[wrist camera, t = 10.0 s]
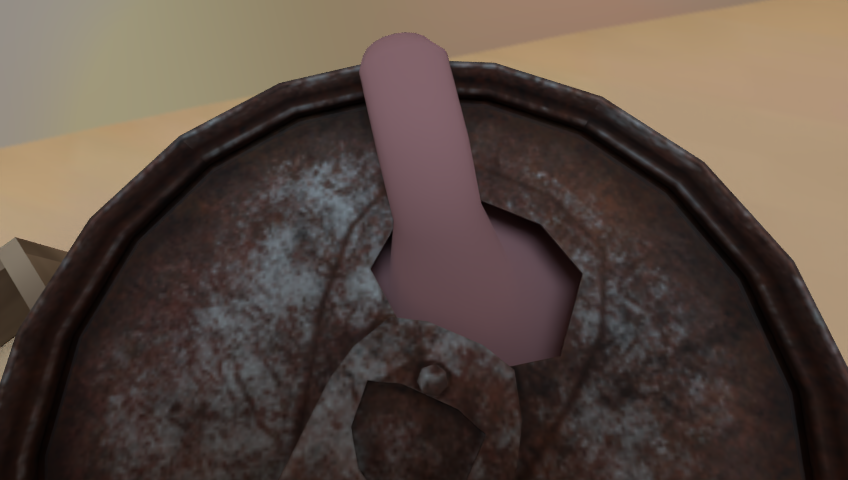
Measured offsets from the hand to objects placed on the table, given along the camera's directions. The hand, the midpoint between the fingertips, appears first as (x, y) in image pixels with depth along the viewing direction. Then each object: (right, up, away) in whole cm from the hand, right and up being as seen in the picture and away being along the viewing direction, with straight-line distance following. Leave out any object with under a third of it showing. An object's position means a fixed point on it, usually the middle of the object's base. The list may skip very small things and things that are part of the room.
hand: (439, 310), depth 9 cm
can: (0, -3, +7) cm, 8 cm away
